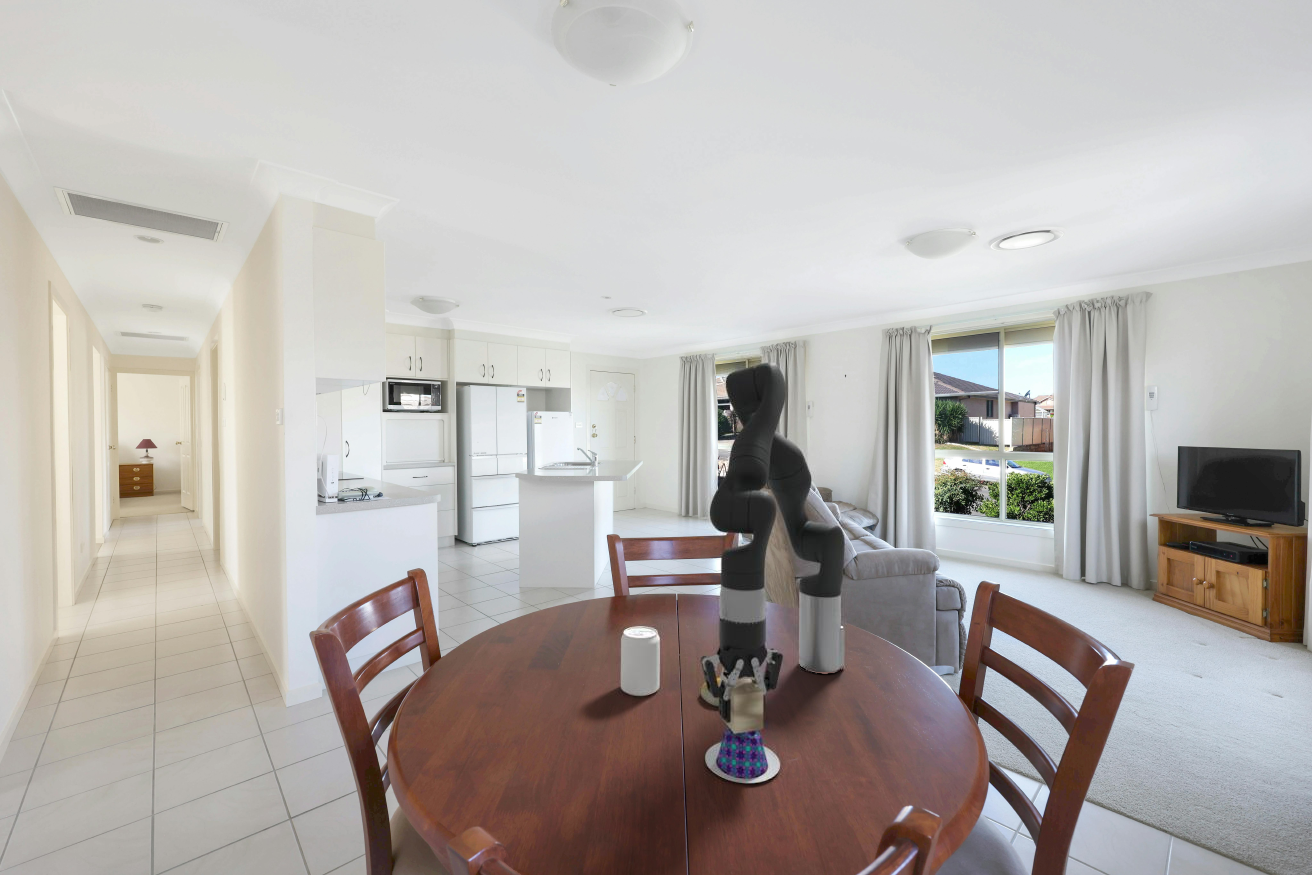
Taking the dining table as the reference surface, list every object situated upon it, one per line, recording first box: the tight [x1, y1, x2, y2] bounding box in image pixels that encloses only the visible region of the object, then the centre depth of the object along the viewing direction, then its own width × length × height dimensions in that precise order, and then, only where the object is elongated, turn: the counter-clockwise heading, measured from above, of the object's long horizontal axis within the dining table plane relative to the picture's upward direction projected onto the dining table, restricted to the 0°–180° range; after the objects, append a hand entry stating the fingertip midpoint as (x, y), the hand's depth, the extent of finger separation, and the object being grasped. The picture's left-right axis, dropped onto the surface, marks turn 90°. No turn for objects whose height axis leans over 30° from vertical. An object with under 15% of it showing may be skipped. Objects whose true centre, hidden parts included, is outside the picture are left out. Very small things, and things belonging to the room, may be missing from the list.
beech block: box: [721, 677, 764, 734], centre depth 90 cm, size 5×5×6 cm
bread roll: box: [700, 677, 721, 707], centre depth 113 cm, size 8×9×4 cm
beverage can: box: [620, 625, 661, 697], centre depth 116 cm, size 8×8×12 cm
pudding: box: [704, 727, 781, 784], centre depth 90 cm, size 12×12×5 cm
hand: (741, 717), depth 90 cm, fingers closed on beech block, 5 cm apart
